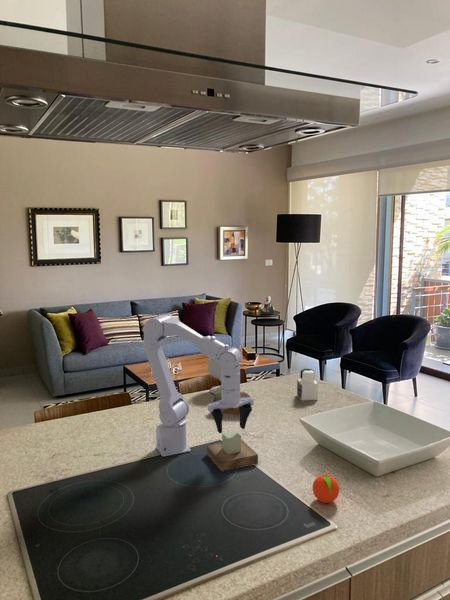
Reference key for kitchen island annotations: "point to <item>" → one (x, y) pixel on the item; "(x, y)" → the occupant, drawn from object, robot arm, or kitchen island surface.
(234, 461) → the plinth
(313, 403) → the kitchen island surface
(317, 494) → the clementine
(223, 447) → the block
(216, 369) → the chalice
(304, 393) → the medicine bottle
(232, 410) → the tin
